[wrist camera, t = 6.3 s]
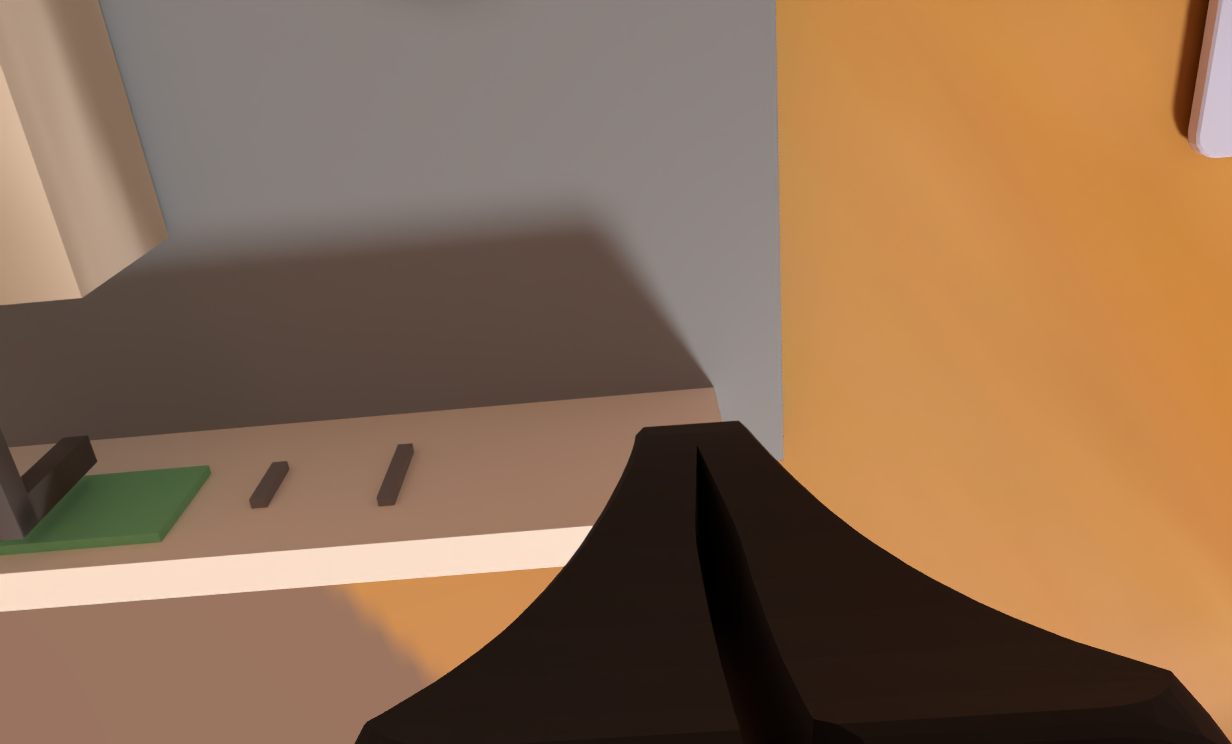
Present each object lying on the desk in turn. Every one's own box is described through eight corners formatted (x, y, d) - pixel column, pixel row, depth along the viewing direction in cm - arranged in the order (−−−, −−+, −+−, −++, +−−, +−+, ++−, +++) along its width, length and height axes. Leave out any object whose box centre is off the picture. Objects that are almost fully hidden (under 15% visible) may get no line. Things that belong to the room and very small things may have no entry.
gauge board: (752, -729, 14) (845, -1143, 9) (776, 438, 23) (830, 599, 17) (-628, -567, 15) (-1348, -861, 9) (-102, 512, 23) (-321, 690, 18)
